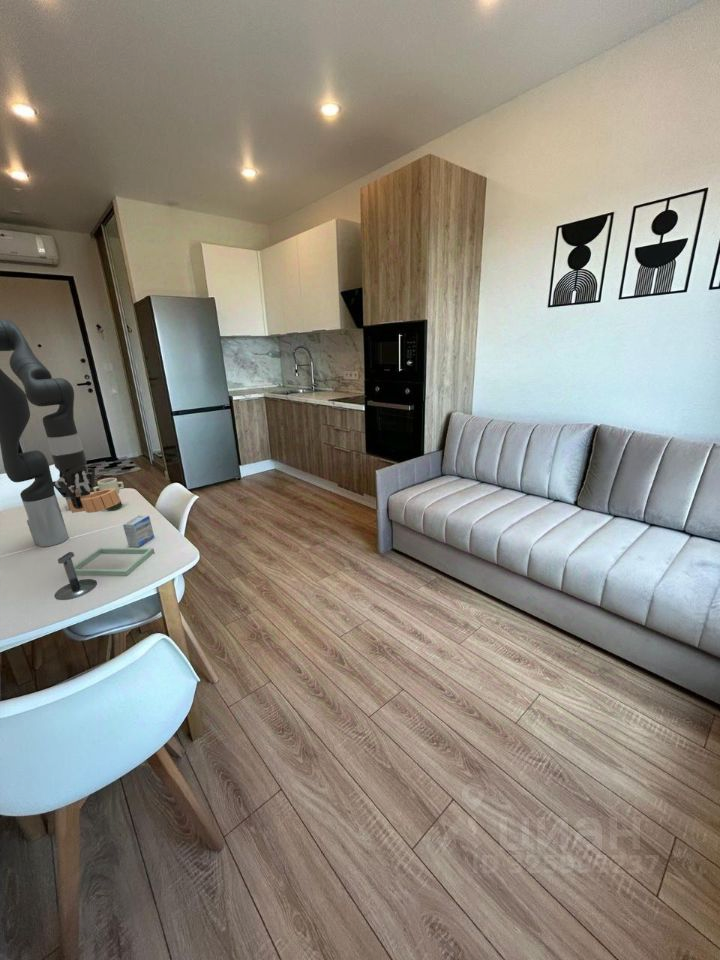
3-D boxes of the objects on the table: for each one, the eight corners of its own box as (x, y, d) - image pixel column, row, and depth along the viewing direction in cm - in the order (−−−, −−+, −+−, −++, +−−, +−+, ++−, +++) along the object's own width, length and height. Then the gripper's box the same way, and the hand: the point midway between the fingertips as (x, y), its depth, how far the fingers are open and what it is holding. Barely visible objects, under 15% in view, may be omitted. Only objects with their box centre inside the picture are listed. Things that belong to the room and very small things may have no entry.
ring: (64, 517, 113) (58, 504, 112) (87, 505, 122) (81, 493, 121) (106, 509, 112) (101, 497, 110) (126, 498, 120) (121, 486, 119)
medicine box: (139, 547, 134) (133, 525, 131) (128, 546, 135) (122, 524, 132) (154, 537, 142) (149, 515, 139) (144, 536, 142) (139, 514, 140)
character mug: (127, 502, 175) (120, 475, 171) (129, 507, 170) (122, 479, 166) (98, 509, 169) (90, 481, 165) (100, 514, 164) (92, 485, 159)
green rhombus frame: (68, 577, 117) (66, 570, 117) (101, 554, 131) (99, 547, 130) (127, 578, 116) (126, 571, 115) (155, 554, 129) (153, 548, 128)
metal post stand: (46, 602, 106) (32, 565, 102) (74, 581, 115) (63, 546, 111) (80, 603, 105) (68, 565, 101) (106, 582, 114) (95, 547, 111)
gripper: (74, 444, 118) (89, 497, 124) (33, 457, 105) (52, 515, 111) (97, 444, 118) (111, 497, 123) (59, 456, 104) (77, 515, 110)
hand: (83, 505), depth 117 cm, fingers closed on ring, 3 cm apart
